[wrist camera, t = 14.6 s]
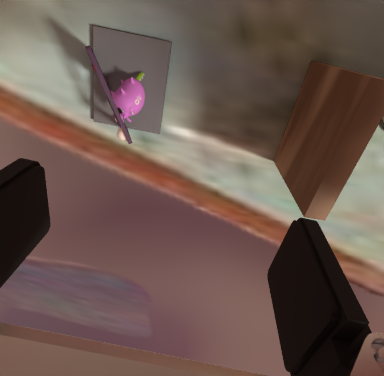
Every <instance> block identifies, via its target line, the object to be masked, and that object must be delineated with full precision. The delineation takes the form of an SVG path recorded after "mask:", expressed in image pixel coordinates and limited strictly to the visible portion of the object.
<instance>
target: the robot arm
mask: <svg viewBox="0 0 384 376" xmlns="http://www.w3.org/2000/svg"><path fill="white" fill-rule="evenodd" d="M382 119H383V122H384V116H383V117H382ZM49 228H50V216H49V207H48V198H47V189H46V181H45V171H44V168H43V167H41V166H40V164H39V162H36V161H32V160H27V159H23V158H20V159H18V160H16V161H14V162H13V163H11V164H10V165H8V166H6V167H5V168H3V169H2V170H0V288H1V287H2V285H3V284H4V283H5V282H6V281H7V279H8V278H9V277H10V276H11V275H12V274H13V272H14V271H15V270H16V269H17V268H18V267H19V265H20V264H21V263H22V262H23V261H24V260H25V258H26V257H27V256H28V255H29V254H30V253H31V251H32V250H33V249H34V248H35V247H36V245H37V244H38V243H39V242H40V241H41V240H42V238H43V237H44V236H45V235H46V234H47V232H48V231H49ZM268 283H269V288H270V293H271V298H272V303H273V309H274V314H275V319H276V324H277V329H278V334H279V340H280V345H281V350H282V355H283V360H284V365H285V368H286V370H287V371H288V372H290V374H291V376H384V334H382V333H372V332H371V330H370V328H369V326H368V324H369V322H368V320H367V318H366V316H365V314H364V312H363V310H362V308H361V306H360V304H359V302H358V300H357V298H356V296H355V294H354V292H353V290H352V288H351V286H350V285H349V282H348V281H347V279H346V277H345V275H344V273H343V271H342V269H341V267H340V265H339V263H338V261H337V259H336V257H335V255H334V253H333V251H332V249H331V247H330V245H329V243H328V241H327V239H326V238H325V236H324V234H323V232H322V230H321V228H320V226H319V224H318V222H317V221H314V220H310V219H305V218H299V219H298V220H297V221H296V220H294V221H293V222H292V224H291V226H290V228H289V230H288V232H287V234H286V236H285V238H284V240H283V242H282V244H281V246H280V248H279V250H278V252H277V254H276V256H275V258H274V260H273V262H272V264H271V266H270V268H269V270H268ZM0 376H265V375H262V374H257V373H252V372H247V371H242V370H237V369H232V368H228V367H223V366H217V365H213V364H208V363H203V362H198V361H193V360H188V359H184V358H179V357H174V356H169V355H164V354H159V353H154V352H149V351H143V350H139V349H133V348H129V347H124V346H119V345H114V344H109V343H104V342H98V341H94V340H89V339H84V338H79V337H73V336H68V335H63V334H58V333H53V332H47V331H43V330H38V329H32V328H27V327H22V326H17V325H12V324H6V323H1V322H0Z"/></svg>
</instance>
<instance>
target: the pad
mask: <svg viewBox="0 0 384 376" xmlns="http://www.w3.org/2000/svg"><path fill="white" fill-rule="evenodd" d="M171 43H172V42H169V41H164V40H159V39H155V38H150V37H145V36H140V35H136V34H131V33H126V32H121V31H117V30H112V29H107V28H103V27H98V26H93V52H94V54H95V57H96V59H97V61H98V63H99V66H100V68H101V70H102V73H103V75H104V77H105V79H106V82H107V84H108V86H109V88H110V91H113V92H114V93H115V92H116V91H117V90H118V89H119V87H120V86H121V85H122V84H121V79H122V80H123V81H126V80H127V79H129V78H131V77H132V78H136V77H137V76H138V74H140V73H141V72H143V74H145V75H144V76H142V77H143V79H142V78H141V81H139V82H140V83H141V84H142V86H143V88H144V91H145V101H144V104H143V107H142V109H141V110H140V111H139V112H138V113H137V114H135V115H133V116H129V117H128V118H129V119H130V120H131V121H132V122H129V121H127V119H126V118H125V119H124V117H123V120H124V123H125V125H126V127H127V128H131V129H136V130H141V131H147V132H152V133H157V134H160V130H161V122H162V114H163V106H164V98H165V90H166V82H167V75H168V67H169V59H170V51H171ZM93 88H94V122H99V123H104V124H110V125H115V126H119V124H118V122H116V120H115V114H114V112H113V111H112V109H111V108H110V106H109V102H108V99H107V95H106V92H105V90H104V88H103V86H102V83H101V81H100V79H99V77H98V75H97V73H96V71H94V68H93Z"/></svg>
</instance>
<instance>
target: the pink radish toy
mask: <svg viewBox="0 0 384 376" xmlns="http://www.w3.org/2000/svg"><path fill="white" fill-rule="evenodd" d="M85 48H86V50H87V52H88V55H89V57H90V59H91V61H92V64H93V65H92V66H93V68H94V71H96V73H97V75H98V77H99V79H100V81H101V83H102V86H103V88H104V90H105V92H106V95H107V99H108V102H109V106H110V108H111V109H112V111H113V112H114V114H115V120H116V122H118V124H119V126H120V128H119V126H118V128H119V130H118V131H117V136H118V138H119V139H120V140H123V141H125V140H126V141H128V143H129V144H130V143H132V140H131V138H130V135H129V132H128V129H127V127H126V125H125V123H124V120H123V117H124V119H125V118H126V119H127V121H129V122H132V121H131V120H130V119H129V118H128V117H129V116H133V115H135V114H137V113H138V112H139V111H140V110H141V109H142V107H143V104H144V101H145V91H144V88H143V86H142V84H141V83H140V82H139V81H141V78H142V79H143V77H142V76H144V75H145V74H143V72H141V73H140V74H138V76H137V77H136V78H132V77H131V78H129V79H127V80H126V81H123V80H122V79H121V84H122V85H121V86H120V87H119V89H118V90H117V91H116V92H115V93H114V92H113V91H110V88H109V86H108V84H107V82H106V79H105V77H104V75H103V73H102V70H101V68H100V66H99V63H98V61H97V59H96V57H95V54H94V52H93V50H92V48H91V47H90V46H87V47H85Z"/></svg>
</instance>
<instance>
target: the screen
mask: <svg viewBox="0 0 384 376" xmlns="http://www.w3.org/2000/svg"><path fill="white" fill-rule="evenodd" d="M383 116H384V79H382V78H378V77H374V76H371V75H367V74H363V73H359V72H355V71H352V70H348V69H344V68H340V67H336V66H333V65H329V64H324V63H319V62H315V61H311V64H310V66H309V69H308V72H307V74H306V77H305V80H304V82H303V85H302V87H301V90H300V93H299V95H298V98H297V101H296V103H295V106H294V109H293V111H292V114H291V117H290V119H289V122H288V125H287V127H286V130H285V133H284V135H283V138H282V141H281V143H280V146H279V148H278V151H277V154H276V156H275V159H274V163H275V165H276V166H277V168H278V170H279V172H280V174H281V176H282V177H283V179H284V181H285V183H286V185H287V187H288V188H289V190H290V192H291V194H292V196H293V197H294V199H295V201H296V203H297V205H298V207H299V208H300V210H301V212H302V214H303V216H304V217H308V218H313V219H319V220H326V218H327V216H328V214H329V213H330V211H331V209H332V207H333V205H334V204H335V202H336V200H337V198H338V196H339V195H340V193H341V191H342V189H343V187H344V186H345V184H346V182H347V180H348V178H349V177H350V175H351V173H352V171H353V169H354V168H355V166H356V164H357V162H358V160H359V159H360V157H361V155H362V153H363V151H364V150H365V148H366V146H367V144H368V142H369V141H370V139H371V137H372V135H373V133H374V132H375V130H376V128H377V126H378V124H379V123H380V121H381V119H382V117H383Z"/></svg>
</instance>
